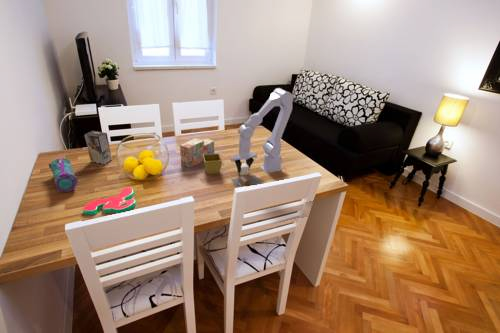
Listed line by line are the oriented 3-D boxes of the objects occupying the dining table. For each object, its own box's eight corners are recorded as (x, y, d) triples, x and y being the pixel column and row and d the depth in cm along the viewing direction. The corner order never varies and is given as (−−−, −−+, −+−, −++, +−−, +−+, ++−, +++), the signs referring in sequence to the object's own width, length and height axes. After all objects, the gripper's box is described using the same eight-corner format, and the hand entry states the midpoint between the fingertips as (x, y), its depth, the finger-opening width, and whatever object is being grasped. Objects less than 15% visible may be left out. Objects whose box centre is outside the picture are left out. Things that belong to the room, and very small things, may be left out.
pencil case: (51, 175, 136) (46, 158, 132) (72, 171, 141) (67, 154, 137) (58, 195, 122) (52, 177, 118) (80, 189, 127) (76, 171, 123)
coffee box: (112, 159, 154) (107, 132, 147) (104, 164, 149) (99, 137, 141) (98, 157, 156) (92, 130, 148) (90, 162, 150) (83, 134, 143)
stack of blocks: (206, 152, 170) (206, 133, 165) (214, 155, 168) (214, 136, 162) (180, 164, 154) (179, 144, 149) (189, 168, 151) (188, 147, 146)
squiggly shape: (132, 190, 130) (132, 186, 129) (138, 210, 117) (137, 205, 116) (83, 200, 121) (82, 195, 120) (84, 222, 109) (82, 217, 108)
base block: (248, 181, 141) (248, 175, 140) (253, 186, 138) (253, 179, 136) (239, 183, 139) (239, 176, 137) (243, 188, 135) (244, 181, 134)
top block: (244, 170, 152) (245, 162, 150) (248, 174, 149) (249, 166, 147) (237, 172, 150) (238, 164, 148) (241, 176, 147) (241, 167, 145)
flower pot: (205, 177, 144) (204, 161, 140) (202, 169, 151) (202, 154, 147) (221, 175, 146) (222, 160, 142) (218, 167, 154) (219, 153, 149)
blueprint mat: (254, 175, 149) (254, 174, 148) (267, 188, 138) (267, 187, 138) (230, 180, 143) (230, 179, 143) (242, 194, 132) (242, 193, 132)
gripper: (253, 143, 149) (251, 165, 155) (228, 146, 143) (227, 170, 149) (259, 148, 143) (257, 171, 150) (234, 152, 137) (233, 176, 144)
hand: (243, 171), depth 149 cm, fingers closed on top block, 4 cm apart
